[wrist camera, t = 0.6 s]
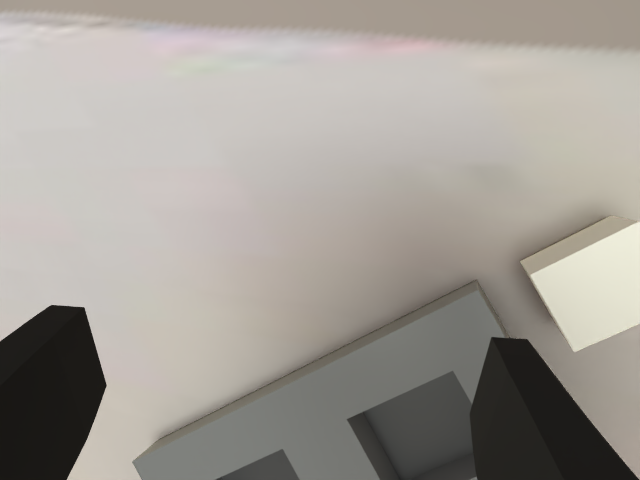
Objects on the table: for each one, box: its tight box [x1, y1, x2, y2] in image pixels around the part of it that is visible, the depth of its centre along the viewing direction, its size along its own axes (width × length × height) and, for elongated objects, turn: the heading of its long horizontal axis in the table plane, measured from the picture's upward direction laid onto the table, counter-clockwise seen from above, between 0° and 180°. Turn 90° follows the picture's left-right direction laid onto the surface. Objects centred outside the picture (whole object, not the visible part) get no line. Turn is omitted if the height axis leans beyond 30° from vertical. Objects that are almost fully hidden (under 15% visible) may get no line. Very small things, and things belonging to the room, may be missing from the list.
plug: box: [520, 216, 640, 352], centre depth 26 cm, size 4×5×6 cm
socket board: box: [132, 280, 510, 480], centre depth 32 cm, size 12×24×3 cm, turn 120°
